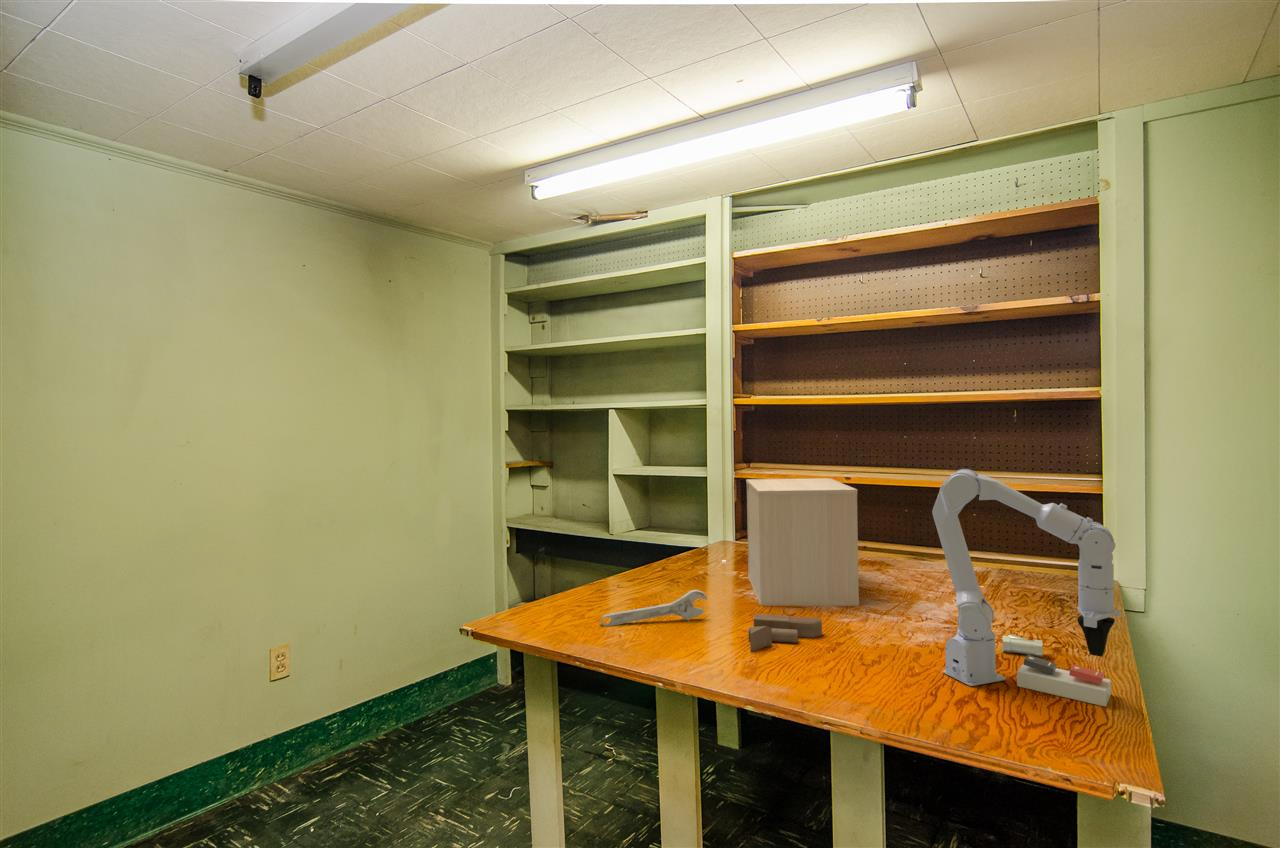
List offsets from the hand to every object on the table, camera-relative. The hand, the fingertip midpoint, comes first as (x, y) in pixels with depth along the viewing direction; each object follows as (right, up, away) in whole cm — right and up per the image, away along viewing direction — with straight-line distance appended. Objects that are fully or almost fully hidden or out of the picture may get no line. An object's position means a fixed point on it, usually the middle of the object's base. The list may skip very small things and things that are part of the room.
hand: (1096, 654), depth 128 cm
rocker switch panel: (-4, -9, +4) cm, 10 cm away
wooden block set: (-53, -10, +35) cm, 65 cm away
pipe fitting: (0, -9, +25) cm, 27 cm away
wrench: (-86, -10, +53) cm, 101 cm away
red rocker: (-1, -4, +1) cm, 4 cm away
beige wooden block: (-38, -9, +82) cm, 91 cm away
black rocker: (-7, -4, +6) cm, 10 cm away
